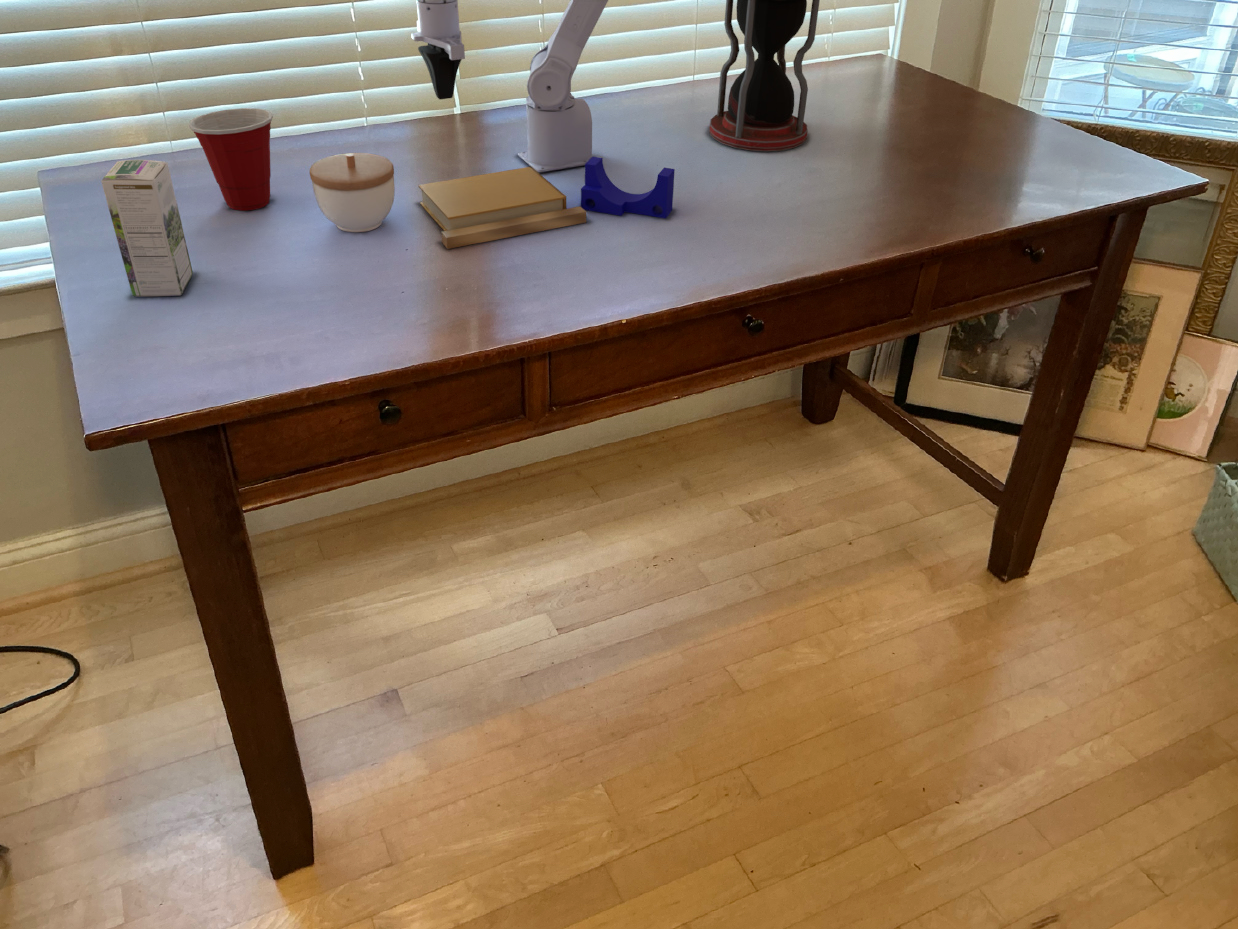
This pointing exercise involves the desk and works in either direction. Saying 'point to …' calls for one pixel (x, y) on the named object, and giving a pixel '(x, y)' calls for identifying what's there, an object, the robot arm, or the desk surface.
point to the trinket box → (354, 189)
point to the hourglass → (764, 77)
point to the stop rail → (513, 227)
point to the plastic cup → (238, 154)
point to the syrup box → (148, 227)
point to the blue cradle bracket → (625, 193)
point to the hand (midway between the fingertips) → (444, 97)
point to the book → (490, 198)
